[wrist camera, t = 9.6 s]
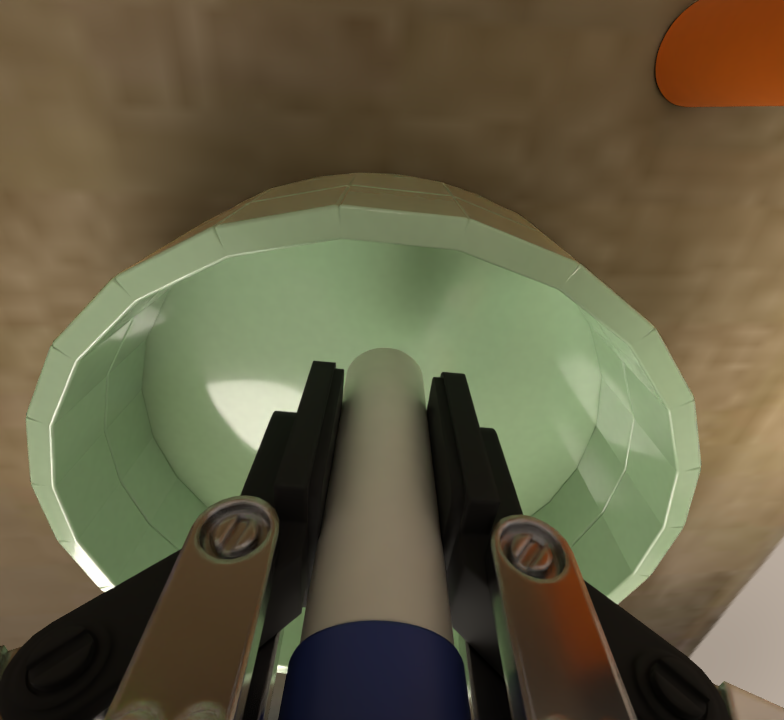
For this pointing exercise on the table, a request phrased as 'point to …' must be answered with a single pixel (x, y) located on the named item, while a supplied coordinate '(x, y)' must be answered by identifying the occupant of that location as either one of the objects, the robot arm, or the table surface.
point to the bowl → (342, 345)
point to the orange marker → (724, 55)
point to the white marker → (379, 566)
